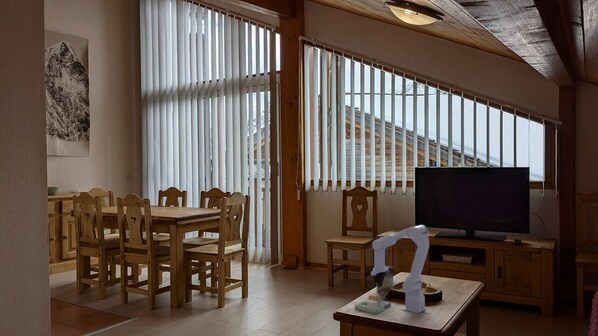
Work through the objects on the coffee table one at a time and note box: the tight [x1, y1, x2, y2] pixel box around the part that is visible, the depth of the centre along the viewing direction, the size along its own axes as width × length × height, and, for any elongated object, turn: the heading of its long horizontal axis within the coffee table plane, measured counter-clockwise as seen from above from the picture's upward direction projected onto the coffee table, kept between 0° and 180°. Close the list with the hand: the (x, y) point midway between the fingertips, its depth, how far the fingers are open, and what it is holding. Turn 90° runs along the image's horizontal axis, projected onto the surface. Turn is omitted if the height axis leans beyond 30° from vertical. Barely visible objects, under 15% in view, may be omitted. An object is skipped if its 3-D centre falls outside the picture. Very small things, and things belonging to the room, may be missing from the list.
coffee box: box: [376, 265, 394, 297], centre depth 288 cm, size 9×6×16 cm
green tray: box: [354, 300, 385, 315], centre depth 262 cm, size 13×8×2 cm, turn 49°
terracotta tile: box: [368, 293, 381, 301], centre depth 270 cm, size 4×4×3 cm
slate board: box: [364, 299, 392, 310], centre depth 268 cm, size 12×8×2 cm
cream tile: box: [366, 299, 378, 309], centre depth 260 cm, size 4×4×3 cm
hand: (379, 285), depth 274 cm, fingers closed
